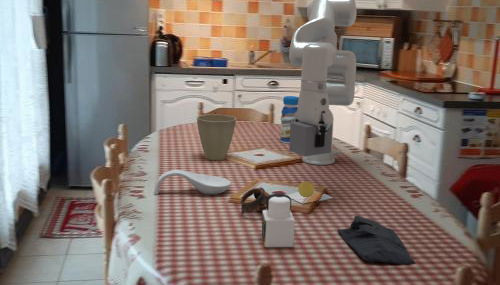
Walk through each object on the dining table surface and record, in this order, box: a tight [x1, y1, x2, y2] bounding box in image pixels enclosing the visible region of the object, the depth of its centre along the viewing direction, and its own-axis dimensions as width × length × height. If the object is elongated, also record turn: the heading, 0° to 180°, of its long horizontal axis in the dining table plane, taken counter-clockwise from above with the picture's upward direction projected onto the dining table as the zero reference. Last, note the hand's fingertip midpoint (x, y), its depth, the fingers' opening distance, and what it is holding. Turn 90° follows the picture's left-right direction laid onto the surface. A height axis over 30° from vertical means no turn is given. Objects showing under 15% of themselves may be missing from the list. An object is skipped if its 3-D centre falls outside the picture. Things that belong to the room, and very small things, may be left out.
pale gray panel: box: [318, 193, 334, 202], centre depth 174 cm, size 12×10×1 cm
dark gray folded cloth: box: [337, 215, 416, 266], centre depth 138 cm, size 15×22×5 cm
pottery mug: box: [240, 187, 271, 214], centre depth 159 cm, size 12×10×8 cm
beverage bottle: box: [280, 95, 299, 145], centre depth 246 cm, size 8×8×20 cm
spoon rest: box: [154, 169, 232, 196], centre depth 175 cm, size 24×12×7 cm, turn 100°
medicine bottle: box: [261, 192, 296, 248], centre depth 138 cm, size 7×7×12 cm
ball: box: [297, 180, 316, 197], centre depth 173 cm, size 5×5×5 cm
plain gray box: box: [288, 122, 334, 157], centre depth 170 cm, size 10×8×9 cm
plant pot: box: [196, 113, 237, 161], centre depth 215 cm, size 15×15×16 cm
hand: (310, 143), depth 171 cm, fingers closed on plain gray box, 7 cm apart
